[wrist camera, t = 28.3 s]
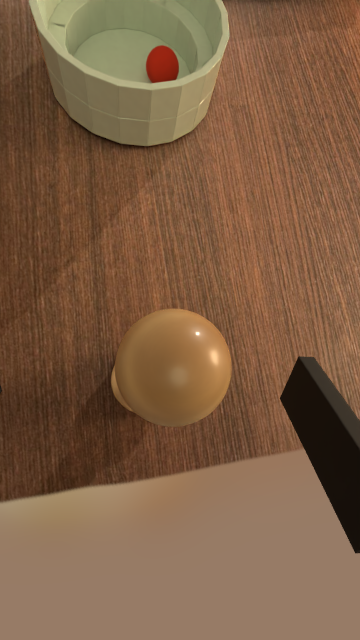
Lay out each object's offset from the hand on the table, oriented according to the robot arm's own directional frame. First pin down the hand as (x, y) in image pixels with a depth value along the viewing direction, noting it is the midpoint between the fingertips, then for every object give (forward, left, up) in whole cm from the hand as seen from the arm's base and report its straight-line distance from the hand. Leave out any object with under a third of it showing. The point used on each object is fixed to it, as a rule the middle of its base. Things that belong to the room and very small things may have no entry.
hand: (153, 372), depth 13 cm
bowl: (-17, +22, -10) cm, 30 cm away
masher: (0, 0, -10) cm, 10 cm away
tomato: (-15, +24, -8) cm, 29 cm away
